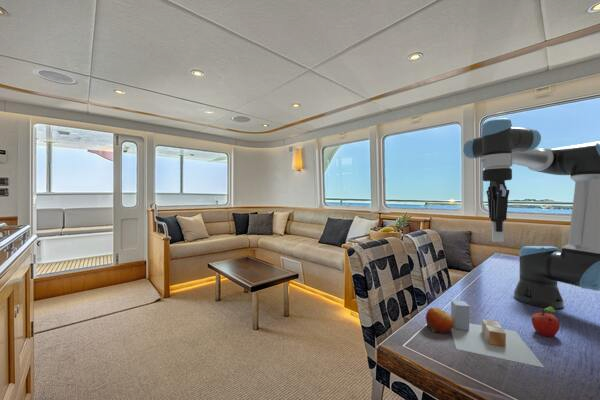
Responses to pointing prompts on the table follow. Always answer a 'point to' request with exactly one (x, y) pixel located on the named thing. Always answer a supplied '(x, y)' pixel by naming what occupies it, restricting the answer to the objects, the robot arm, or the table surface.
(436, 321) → the fruit
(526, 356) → the felt mat
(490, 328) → the beech block
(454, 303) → the slate block
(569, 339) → the table surface
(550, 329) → the apple
